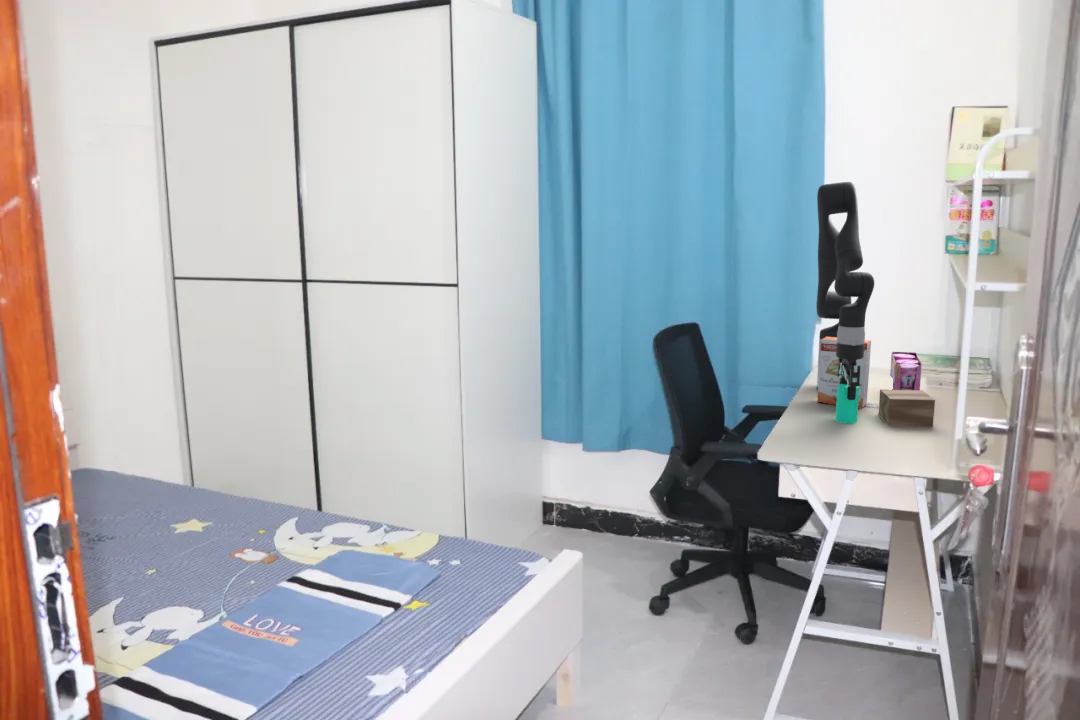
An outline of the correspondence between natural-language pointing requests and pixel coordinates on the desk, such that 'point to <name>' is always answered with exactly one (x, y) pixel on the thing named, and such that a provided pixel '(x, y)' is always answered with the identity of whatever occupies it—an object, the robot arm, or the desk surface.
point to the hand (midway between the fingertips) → (847, 396)
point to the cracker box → (830, 371)
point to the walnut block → (906, 408)
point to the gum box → (905, 371)
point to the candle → (846, 405)
